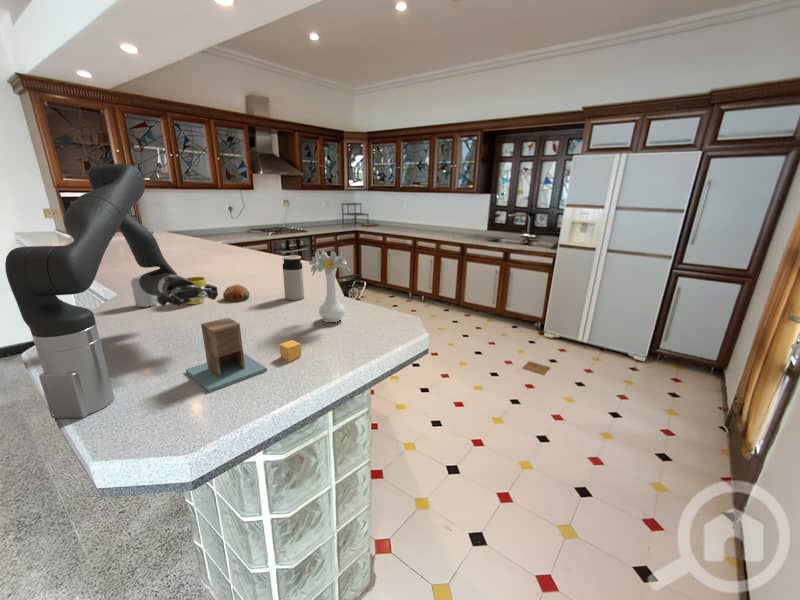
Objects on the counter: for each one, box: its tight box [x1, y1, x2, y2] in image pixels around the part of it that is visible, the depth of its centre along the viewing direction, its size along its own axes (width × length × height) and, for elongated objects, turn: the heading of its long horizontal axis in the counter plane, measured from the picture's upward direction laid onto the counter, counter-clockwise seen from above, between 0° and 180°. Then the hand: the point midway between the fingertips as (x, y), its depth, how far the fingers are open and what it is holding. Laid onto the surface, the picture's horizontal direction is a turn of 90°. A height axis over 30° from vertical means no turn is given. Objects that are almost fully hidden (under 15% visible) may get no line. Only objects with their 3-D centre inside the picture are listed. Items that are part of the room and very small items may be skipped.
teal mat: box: [185, 352, 268, 394], centre depth 88 cm, size 14×14×1 cm
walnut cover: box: [200, 317, 245, 377], centre depth 86 cm, size 6×6×12 cm
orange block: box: [279, 339, 302, 362], centre depth 96 cm, size 4×4×4 cm
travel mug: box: [282, 255, 305, 301], centre depth 149 cm, size 8×8×18 cm
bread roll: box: [222, 284, 250, 303], centre depth 149 cm, size 10×10×8 cm
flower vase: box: [308, 250, 351, 323], centre depth 122 cm, size 13×18×25 cm
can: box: [130, 274, 159, 308], centre depth 137 cm, size 8×8×12 cm
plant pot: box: [184, 276, 207, 305], centre depth 142 cm, size 10×10×10 cm
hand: (197, 298), depth 92 cm, fingers open, 8 cm apart
